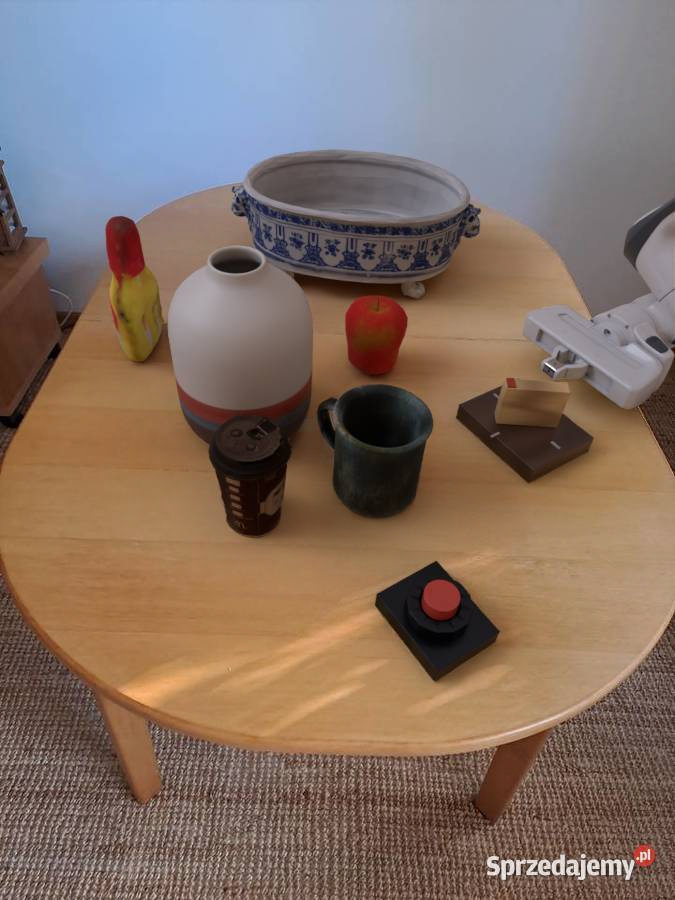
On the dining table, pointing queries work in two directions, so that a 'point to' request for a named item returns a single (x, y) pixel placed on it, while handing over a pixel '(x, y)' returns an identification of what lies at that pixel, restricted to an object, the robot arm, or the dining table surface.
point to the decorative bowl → (356, 216)
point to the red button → (440, 600)
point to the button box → (435, 623)
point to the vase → (241, 343)
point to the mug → (376, 446)
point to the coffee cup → (251, 472)
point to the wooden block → (531, 402)
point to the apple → (374, 333)
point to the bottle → (132, 290)
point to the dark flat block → (523, 438)
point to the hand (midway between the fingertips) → (548, 371)
